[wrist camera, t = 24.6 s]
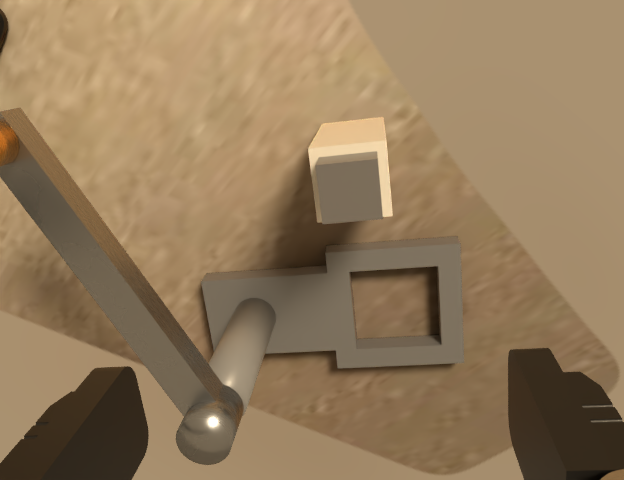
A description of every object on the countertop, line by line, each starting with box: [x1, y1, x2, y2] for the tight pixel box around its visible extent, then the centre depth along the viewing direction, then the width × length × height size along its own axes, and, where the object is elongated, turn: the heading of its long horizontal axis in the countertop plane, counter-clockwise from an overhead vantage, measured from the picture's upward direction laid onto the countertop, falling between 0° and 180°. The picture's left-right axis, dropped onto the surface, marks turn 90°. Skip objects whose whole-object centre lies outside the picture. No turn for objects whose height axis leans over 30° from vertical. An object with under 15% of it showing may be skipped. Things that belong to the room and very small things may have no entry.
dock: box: [201, 236, 464, 416], centre depth 37 cm, size 18×9×12 cm, turn 96°
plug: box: [308, 117, 393, 224], centre depth 34 cm, size 4×4×11 cm
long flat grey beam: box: [0, 108, 244, 465], centre depth 28 cm, size 19×3×4 cm, turn 32°
